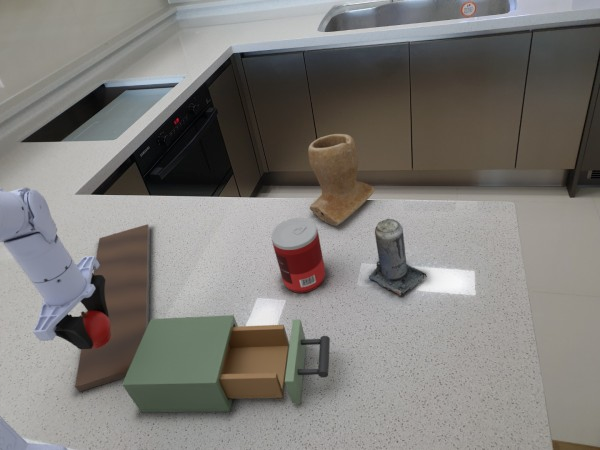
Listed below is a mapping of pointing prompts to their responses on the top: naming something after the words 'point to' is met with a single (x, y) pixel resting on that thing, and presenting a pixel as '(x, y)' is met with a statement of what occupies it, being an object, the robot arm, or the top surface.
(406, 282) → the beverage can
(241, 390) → the drawer
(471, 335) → the top surface
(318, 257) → the canned food
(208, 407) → the cabinet
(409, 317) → the top surface
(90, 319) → the apple
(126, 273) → the board
